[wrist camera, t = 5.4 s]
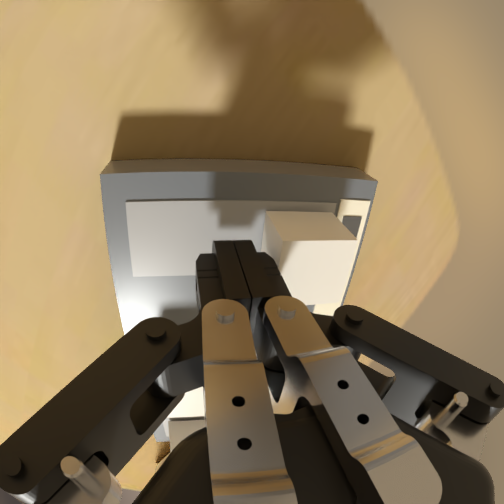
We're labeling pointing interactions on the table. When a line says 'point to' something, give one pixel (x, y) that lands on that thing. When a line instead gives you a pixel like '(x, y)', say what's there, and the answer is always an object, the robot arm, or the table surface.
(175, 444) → the tab
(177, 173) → the switch board
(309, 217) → the tab
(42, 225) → the table surface
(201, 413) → the middle tab
